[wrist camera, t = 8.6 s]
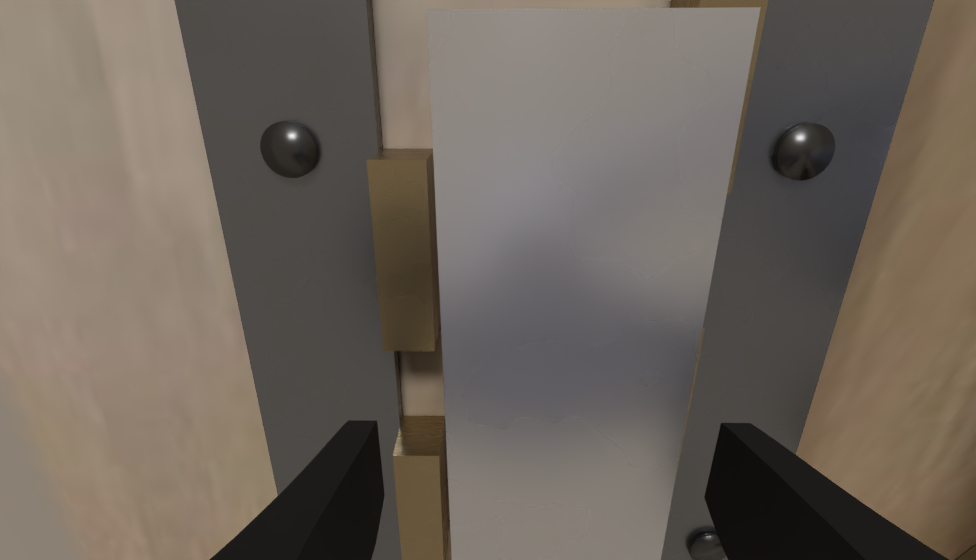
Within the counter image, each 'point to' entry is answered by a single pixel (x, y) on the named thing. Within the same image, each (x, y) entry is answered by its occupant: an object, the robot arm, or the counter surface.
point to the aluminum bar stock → (576, 262)
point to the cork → (969, 554)
